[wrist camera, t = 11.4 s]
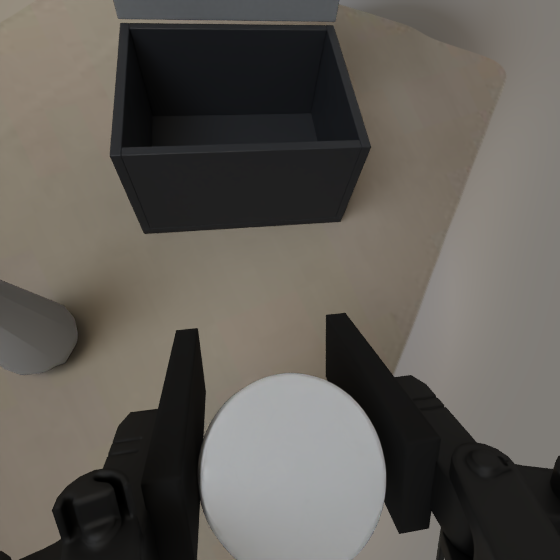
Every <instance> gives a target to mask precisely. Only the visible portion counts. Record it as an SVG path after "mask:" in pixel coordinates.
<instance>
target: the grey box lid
mask: <svg viewBox="0 0 560 560" xmlns="http://www.w3.org/2000/svg"><path fill="white" fill-rule="evenodd" d="M113 1H114V5H115V9H116V12H117V16H118V19H165V20H242V21H319V22H335V21H336V15H337V10H338V5H339V0H113Z"/></svg>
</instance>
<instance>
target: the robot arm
mask: <svg viewBox="0 0 560 560" xmlns="http://www.w3.org/2000/svg"><path fill="white" fill-rule="evenodd" d="M326 378H327V380H328V382H330V383H332V384H334V385H336V386H338V387H339V388H341V389H342V390H343V391H345V392H346V393H348V394H349V395H350V396H351V397H352V398H353V399H354V400H355V401H356V402H357V403H358V404H359V405H360V407H361V408H362V409H363V410H364V412H365V413H366V415H367V416H368V418H369V419H370V421H371V423H372V425H373V426H374V428H375V430H376V433H377V435H378V438H379V440H380V443H381V447H382V451H383V455H384V459H385V465H386V492H385V500H384V502H385V505H386V507H387V509H388V511H389V513H390V515H391V517H392V519H393V522H394V524H395V526H396V528H397V530H398V532H399V534H401V533H407V532H412V531H417V530H423V529H428V528H429V524H430V516H431V511H432V512H433V514H434V516H435V517H436V519H437V521H438V523H439V524H440V526H441V530H440V537H439V543H438V550H437V557H436V560H444V558H445V560H560V456H558V458H557V460H556V462H555V466H554V469H548V468H539V467H531V466H522V465H517V464H514V463H513V462H512V460H511V459H510V458H509V457H508V456H506V455H505V454H503V453H502V452H500V451H499V450H498V449H496V448H493V447H491V446H488V445H486V444H481V443H477V442H476V441H475V440H474V439H473V438H472V436H471V435H470V434H469V433H468V432H467V431H466V430H465V429H464V427H463V426H462V425H461V424H460V423H459V422H458V420H457V419H456V418H455V417H454V416H453V415H452V414H451V413H450V411H449V410H448V409H447V408H446V407H444V404H443V403H442V402H441V401H440V400H439V399H438V398H436V395H435V394H434V393H433V392H432V391H431V390H430V388H429V387H428V386H427V385H426V384H425V383H423V382H421V381H420V380H418V379H416V378H415V377H413V376H411V375H409V376H401V377H394V376H393V375H392V373H391V372H390V371H389V369H388V368H387V367H386V366H385V364H384V363H383V362H382V360H381V359H380V358H379V356H378V355H377V354H376V352H375V351H374V350H373V348H372V347H371V346H370V345H369V343H368V342H367V341H366V339H365V338H364V337H363V335H362V334H361V333H360V331H359V330H358V329H357V328H356V326H355V325H354V324H353V322H352V321H351V320H350V318H349V317H348V316H347V314H346V313H341V314H331V315H326ZM205 397H206V390H205V382H204V374H203V366H202V358H201V350H200V342H199V334H198V328H195V329H185V330H176V334H175V338H174V342H173V347H172V351H171V355H170V360H169V364H168V368H167V372H166V377H165V381H164V385H163V390H162V394H161V398H160V403H159V407H158V409H153V410H145V411H137V412H130V414H129V415H128V416H127V417H126V418H125V419H124V420H123V421H122V423H121V424H120V425H119V426H118V428H117V431H116V434H115V437H114V440H113V444H112V445H111V448H110V451H109V453H108V457H107V459H106V462H105V464H104V467H103V469H99V470H94V471H92V472H89V473H87V474H85V475H83V476H80V477H79V478H77V479H76V480H75V481H73V482H72V483H71V484H69V485H68V486H67V487H66V488H65V489H64V490H63V492H62V493H61V494H60V495H59V496H58V497H57V499H56V502H55V504H54V507H53V509H52V512H53V515H54V518H55V521H56V524H57V527H58V530H59V533H60V536H61V539H60V540H59V541H57V542H56V543H54V544H52V545H50V546H48V547H46V548H44V549H42V550H40V551H37V552H35V553H33V554H31V555H28V556H26V557H24V558H22V559H19V560H197V548H198V529H199V510H200V496H199V489H198V478H197V473H198V459H199V454H200V449H201V445H202V442H203V434H204V415H205ZM0 560H11V557H10V556H8V555H7V554H5V553H4V552H2V551H0Z"/></svg>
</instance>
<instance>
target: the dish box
mask: <svg viewBox="0 0 560 560" xmlns="http://www.w3.org/2000/svg"><path fill="white" fill-rule="evenodd" d="M370 148H371V145H370V142H369V139H368V135H367V132H366V129H365V126H364V123H363V119H362V116H361V113H360V110H359V106H358V103H357V100H356V97H355V94H354V90H353V87H352V84H351V81H350V77H349V74H348V71H347V68H346V64H345V61H344V58H343V55H342V52H341V48H340V45H339V42H338V39H337V35H336V32H335V29H334V26H333V25H326V26H325V25H249V24H163V23H130V24H129V23H120V34H119V46H118V59H117V71H116V84H115V96H114V109H113V122H112V134H111V147H110V157H111V160H112V162H113V164H114V167H115V169H116V171H117V173H118V176H119V178H120V180H121V182H122V185H123V187H124V189H125V191H126V194H127V196H128V198H129V200H130V203H131V205H132V207H133V210H134V212H135V214H136V216H137V219H138V221H139V223H140V225H141V228H142V230H143V232H144V233H145V234H146V233H162V232H179V231H195V230H211V229H227V228H244V227H260V226H276V225H292V224H309V223H325V222H340V221H341V219H342V217H343V215H344V212H345V210H346V207H347V205H348V202H349V200H350V197H351V195H352V192H353V190H354V188H355V185H356V183H357V180H358V178H359V175H360V173H361V170H362V168H363V165H364V163H365V161H366V158H367V156H368V153H369V151H370Z"/></svg>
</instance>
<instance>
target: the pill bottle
mask: <svg viewBox="0 0 560 560" xmlns="http://www.w3.org/2000/svg"><path fill="white" fill-rule="evenodd" d="M197 478H198V489H199V496H200V501H201V505H202V509H203V512H204V515H205V517H206V519H207V522H208V524H209V526H210V528H211V529H212V531H213V533H214V534H215V536H216V537H217V538H218V540H219V541H220V542H221V544H222V545H223V546H224V547H225V549H226V550H227V551H228V552H229V553H230V554H231V555H232V556H233V557H234V558H235V559H237V560H352V559H354V558H355V556H356V555H357V554H358V553H359V552H360V551H361V550H362V549H363V548H364V546H365V545H366V544H367V542H368V541H369V539H370V537H371V536H372V534H373V532H374V530H375V528H376V526H377V523H378V521H379V518H380V515H381V512H382V509H383V504H384V500H385V492H386V465H385V459H384V455H383V451H382V447H381V443H380V440H379V438H378V435H377V433H376V430H375V428H374V426H373V425H372V423H371V421H370V419H369V418H368V416H367V415H366V413H365V412H364V410H363V409H362V408H361V407H360V405H359V404H358V403H357V402H356V401H355V400H354V399H353V398H352V397H351V396H350V395H349V394H348V393H346V392H345V391H343V390H342V389H341V388H339V387H338V386H336V385H334V384H332V383H330V382H328V381H326V380H324V379H322V378H319V377H316V376H312V375H306V374H301V373H282V374H276V375H271V376H268V377H265V378H262V379H259V380H257V381H255V382H253V383H251V384H250V385H248V386H246V387H245V388H243V389H241V390H240V391H238V392H237V393H236V394H234V395H233V396H232V397H231V398H230V399H228V400H227V401H226V402H225V403H224V405H223V406H222V407H221V408H220V409H219V411H218V412H217V413H216V415H215V416H214V418H213V420H212V421H211V423H210V425H209V427H208V429H207V431H206V434H205V436H204V439H203V442H202V445H201V449H200V454H199V459H198V473H197Z"/></svg>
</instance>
